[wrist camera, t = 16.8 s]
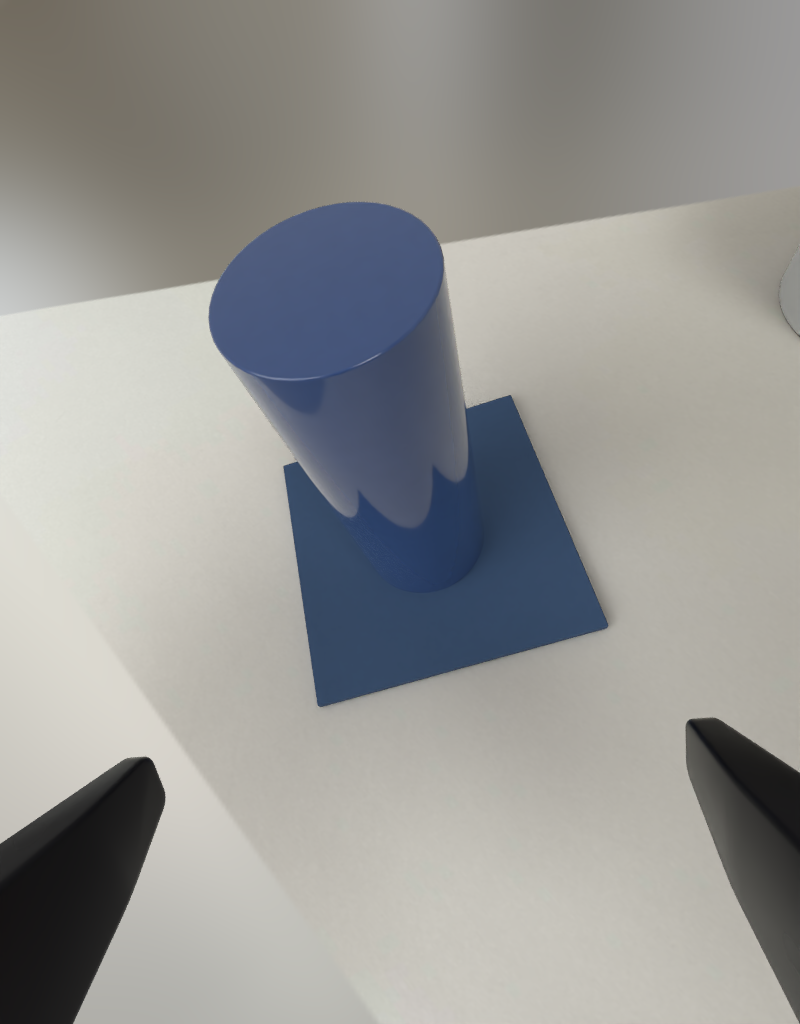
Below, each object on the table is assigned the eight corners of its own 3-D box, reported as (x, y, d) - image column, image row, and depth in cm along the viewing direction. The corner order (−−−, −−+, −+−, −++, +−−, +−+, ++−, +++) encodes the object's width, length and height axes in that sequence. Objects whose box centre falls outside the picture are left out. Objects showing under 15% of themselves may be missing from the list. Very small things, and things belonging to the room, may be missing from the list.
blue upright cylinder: (484, 593, 22) (439, 367, 10) (360, 593, 23) (181, 389, 11) (484, 480, 25) (447, 184, 12) (371, 485, 26) (234, 218, 13)
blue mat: (320, 707, 22) (317, 706, 22) (286, 469, 28) (283, 465, 27) (607, 628, 21) (608, 625, 21) (510, 399, 27) (510, 394, 26)
